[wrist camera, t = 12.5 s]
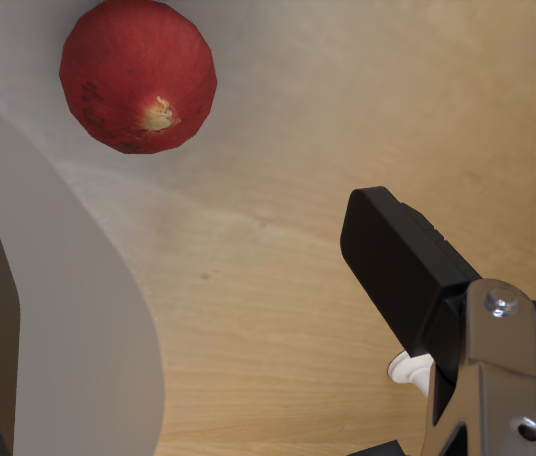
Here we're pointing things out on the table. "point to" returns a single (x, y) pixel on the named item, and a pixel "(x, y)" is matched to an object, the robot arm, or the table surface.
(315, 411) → the table surface
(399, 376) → the chess piece
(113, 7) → the onion
